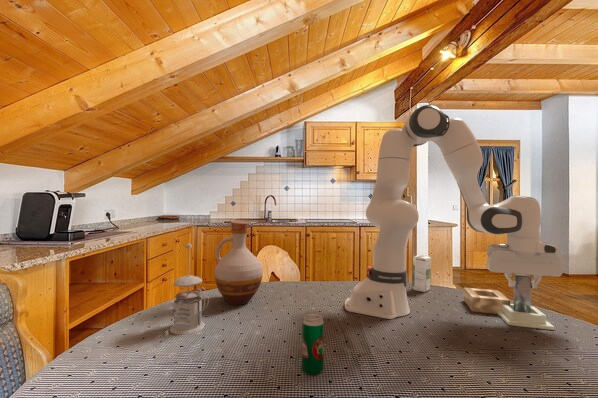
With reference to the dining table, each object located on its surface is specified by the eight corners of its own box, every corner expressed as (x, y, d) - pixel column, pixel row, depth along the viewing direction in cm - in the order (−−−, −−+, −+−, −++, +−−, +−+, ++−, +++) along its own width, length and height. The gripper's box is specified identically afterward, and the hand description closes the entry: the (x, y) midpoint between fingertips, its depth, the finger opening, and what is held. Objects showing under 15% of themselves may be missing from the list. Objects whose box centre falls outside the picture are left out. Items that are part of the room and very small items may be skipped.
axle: (516, 313, 95) (517, 276, 95) (511, 308, 99) (511, 273, 99) (533, 315, 93) (534, 278, 93) (526, 310, 98) (527, 274, 98)
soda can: (300, 363, 69) (301, 312, 69) (321, 363, 69) (322, 312, 69) (302, 376, 64) (303, 321, 64) (325, 376, 64) (326, 321, 64)
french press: (185, 318, 94) (186, 240, 94) (216, 324, 90) (217, 242, 90) (162, 331, 85) (163, 244, 85) (195, 338, 81) (196, 247, 81)
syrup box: (417, 286, 131) (417, 254, 131) (431, 289, 127) (431, 256, 127) (412, 289, 127) (412, 256, 127) (425, 292, 123) (426, 258, 123)
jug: (199, 304, 106) (200, 221, 106) (229, 290, 123) (230, 218, 123) (245, 313, 99) (246, 224, 99) (270, 297, 115) (271, 220, 115)
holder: (508, 324, 92) (508, 313, 92) (494, 310, 104) (494, 301, 104) (554, 330, 89) (554, 318, 89) (534, 315, 100) (535, 304, 100)
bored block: (472, 311, 103) (472, 296, 103) (463, 300, 114) (463, 287, 114) (510, 315, 100) (510, 300, 100) (497, 303, 111) (497, 290, 111)
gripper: (490, 244, 96) (489, 287, 96) (566, 248, 90) (565, 293, 90) (483, 242, 102) (483, 281, 102) (554, 245, 96) (554, 287, 96)
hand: (522, 287), depth 96 cm, fingers closed on axle, 4 cm apart
